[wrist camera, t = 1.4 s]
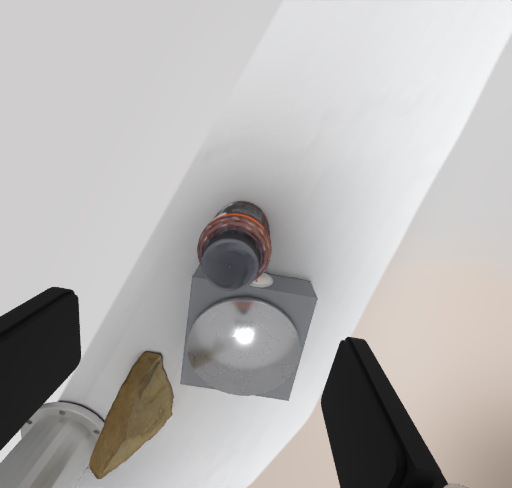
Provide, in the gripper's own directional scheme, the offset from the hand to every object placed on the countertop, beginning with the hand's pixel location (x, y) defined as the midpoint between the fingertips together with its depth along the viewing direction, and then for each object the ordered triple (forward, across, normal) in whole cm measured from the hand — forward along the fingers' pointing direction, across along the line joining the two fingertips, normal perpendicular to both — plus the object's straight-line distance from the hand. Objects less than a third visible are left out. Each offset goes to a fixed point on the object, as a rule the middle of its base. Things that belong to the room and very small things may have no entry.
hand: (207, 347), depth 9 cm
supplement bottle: (+20, 0, +1) cm, 20 cm away
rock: (+20, +8, +25) cm, 33 cm away
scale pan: (+16, -2, +12) cm, 20 cm away
